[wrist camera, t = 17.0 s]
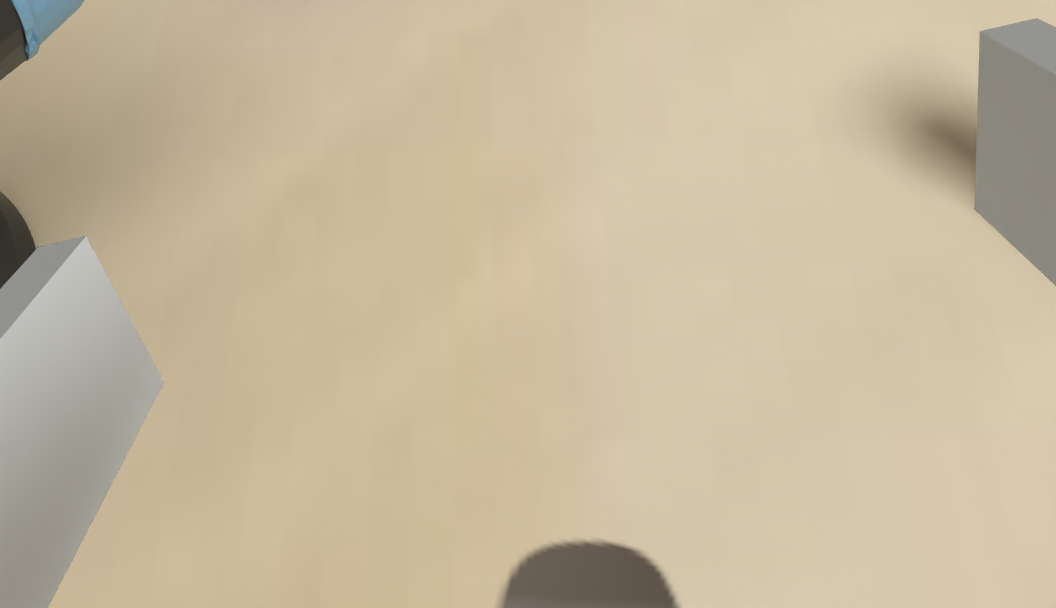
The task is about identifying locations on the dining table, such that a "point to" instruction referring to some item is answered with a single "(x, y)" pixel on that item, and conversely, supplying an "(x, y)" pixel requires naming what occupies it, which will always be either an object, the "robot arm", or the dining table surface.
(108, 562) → the dining table surface
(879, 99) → the dining table surface
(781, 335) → the dining table surface
